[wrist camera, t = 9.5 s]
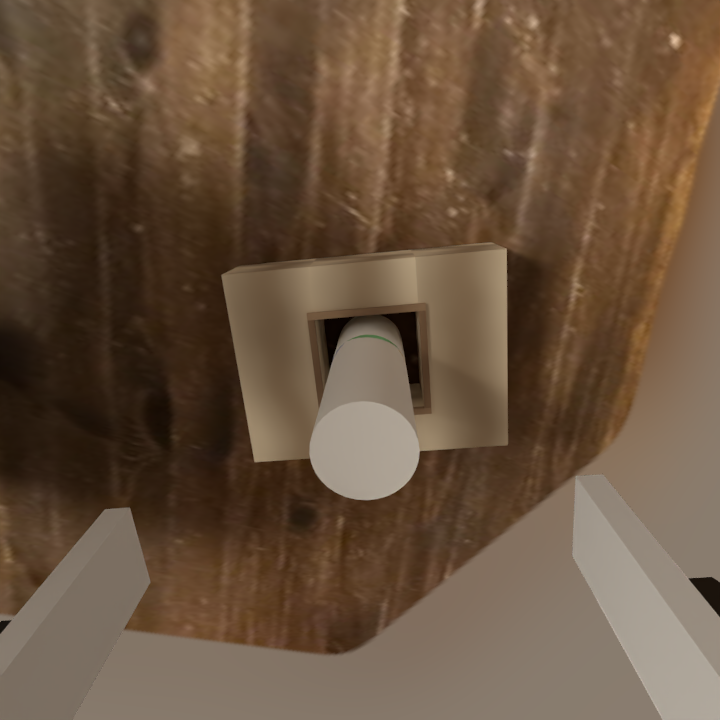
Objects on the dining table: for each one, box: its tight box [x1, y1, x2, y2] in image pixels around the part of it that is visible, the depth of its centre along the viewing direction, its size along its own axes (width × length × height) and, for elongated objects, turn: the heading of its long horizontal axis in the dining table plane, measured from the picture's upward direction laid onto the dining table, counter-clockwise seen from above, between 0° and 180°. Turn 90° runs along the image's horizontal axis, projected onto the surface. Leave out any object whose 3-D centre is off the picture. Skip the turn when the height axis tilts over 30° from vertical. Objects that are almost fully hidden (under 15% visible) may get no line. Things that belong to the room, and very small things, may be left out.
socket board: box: [221, 242, 508, 462], centre depth 32 cm, size 16×12×4 cm
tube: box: [309, 315, 420, 500], centre depth 27 cm, size 4×4×15 cm
